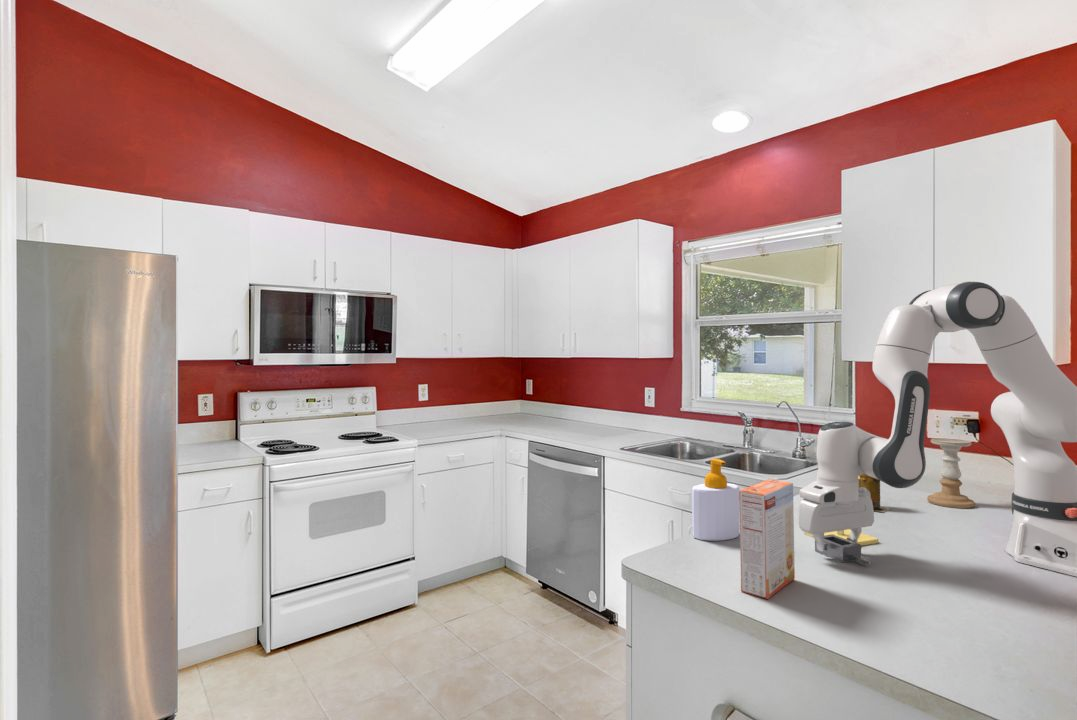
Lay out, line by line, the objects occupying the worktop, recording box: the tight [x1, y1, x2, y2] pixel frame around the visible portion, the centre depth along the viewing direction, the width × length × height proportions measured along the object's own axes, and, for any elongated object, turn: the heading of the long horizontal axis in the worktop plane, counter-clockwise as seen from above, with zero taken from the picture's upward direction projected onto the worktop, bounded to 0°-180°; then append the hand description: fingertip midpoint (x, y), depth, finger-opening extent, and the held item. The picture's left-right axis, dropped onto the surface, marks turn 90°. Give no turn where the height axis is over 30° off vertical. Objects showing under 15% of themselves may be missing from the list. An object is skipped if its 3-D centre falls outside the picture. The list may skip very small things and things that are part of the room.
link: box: [814, 534, 870, 566], centre depth 130 cm, size 12×6×4 cm, turn 20°
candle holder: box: [926, 437, 976, 509], centre depth 176 cm, size 12×12×20 cm
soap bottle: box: [691, 458, 740, 542], centre depth 146 cm, size 13×8×20 cm, turn 105°
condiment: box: [858, 474, 892, 513], centre depth 172 cm, size 7×8×12 cm
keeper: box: [803, 529, 879, 547], centre depth 144 cm, size 12×12×6 cm
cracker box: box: [739, 478, 796, 600], centre depth 115 cm, size 14×6×21 cm, turn 134°
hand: (837, 547), depth 132 cm, fingers open, 8 cm apart
